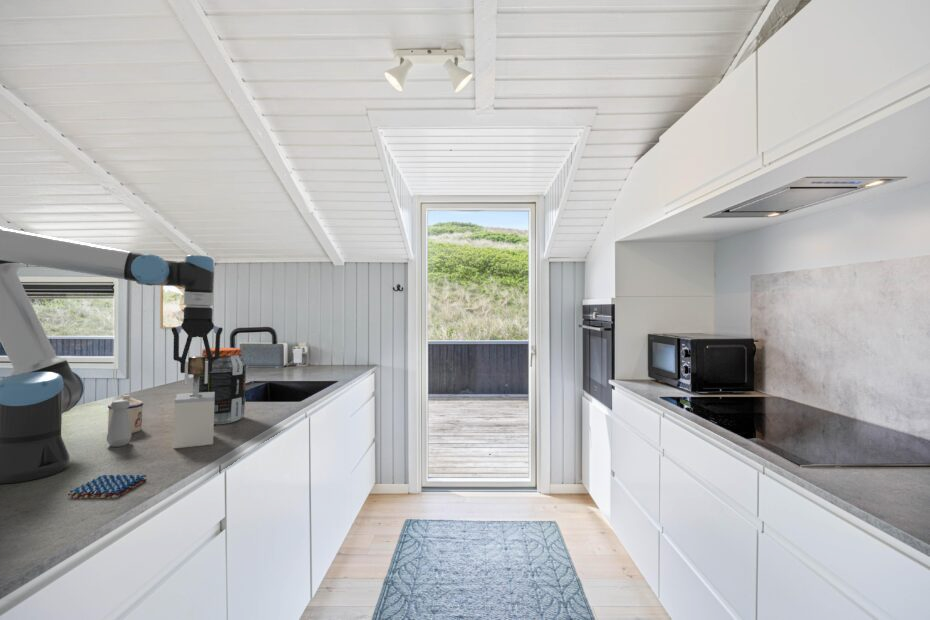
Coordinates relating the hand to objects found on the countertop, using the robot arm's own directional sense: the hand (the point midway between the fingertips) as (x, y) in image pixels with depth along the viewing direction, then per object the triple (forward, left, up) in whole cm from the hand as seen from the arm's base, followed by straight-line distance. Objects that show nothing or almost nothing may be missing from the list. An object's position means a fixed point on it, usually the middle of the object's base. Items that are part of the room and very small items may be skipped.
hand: (196, 383), depth 134 cm
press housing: (0, 0, -18) cm, 18 cm away
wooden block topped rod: (0, 0, -16) cm, 16 cm away
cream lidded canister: (-20, +22, -18) cm, 35 cm away
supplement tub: (+7, +25, -18) cm, 32 cm away
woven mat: (-15, -32, -19) cm, 40 cm away
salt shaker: (-19, +5, -18) cm, 27 cm away
